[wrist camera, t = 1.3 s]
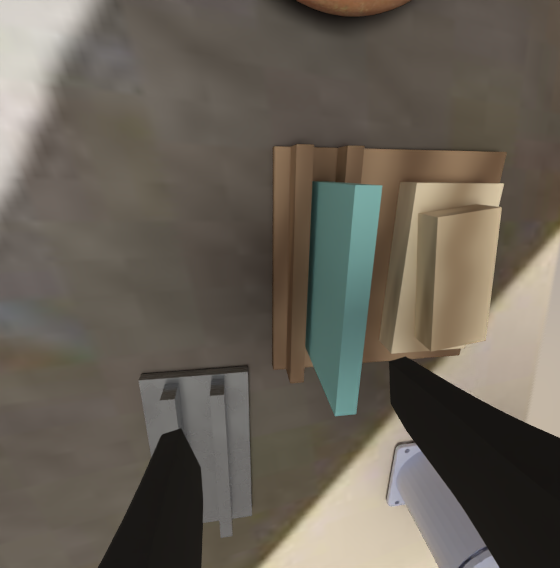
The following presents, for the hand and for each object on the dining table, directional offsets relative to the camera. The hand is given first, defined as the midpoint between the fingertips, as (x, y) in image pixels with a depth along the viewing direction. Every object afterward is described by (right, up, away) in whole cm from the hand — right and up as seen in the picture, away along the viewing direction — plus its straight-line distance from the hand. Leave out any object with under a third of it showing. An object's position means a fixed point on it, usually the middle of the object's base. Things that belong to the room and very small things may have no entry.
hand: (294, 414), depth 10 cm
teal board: (+2, +5, +11) cm, 13 cm away
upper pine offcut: (+11, +5, +11) cm, 16 cm away
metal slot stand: (-7, -10, +16) cm, 20 cm away
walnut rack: (+7, +6, +13) cm, 16 cm away
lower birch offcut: (+10, +6, +13) cm, 17 cm away
